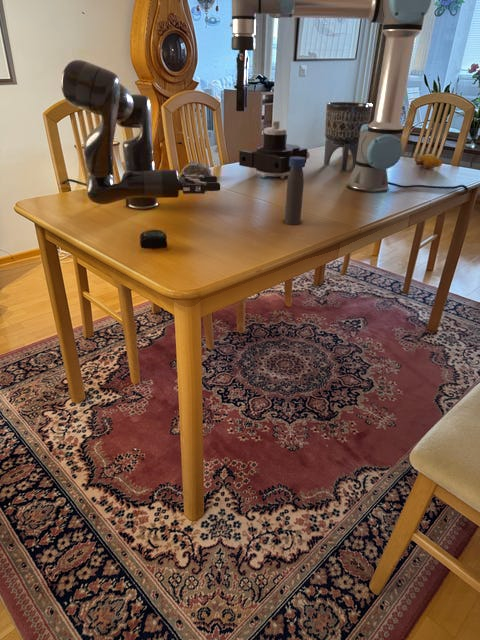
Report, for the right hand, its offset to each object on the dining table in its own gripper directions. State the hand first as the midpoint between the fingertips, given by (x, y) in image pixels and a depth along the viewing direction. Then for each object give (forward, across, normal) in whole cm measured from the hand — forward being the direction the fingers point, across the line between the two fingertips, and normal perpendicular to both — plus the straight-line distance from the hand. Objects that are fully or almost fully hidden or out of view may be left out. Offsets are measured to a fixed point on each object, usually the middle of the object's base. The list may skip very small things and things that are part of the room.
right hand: (241, 109), depth 155 cm
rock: (+28, -16, -19) cm, 37 cm away
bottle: (+28, +34, +18) cm, 48 cm away
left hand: (+16, +39, -4) cm, 42 cm away
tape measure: (+28, +61, -18) cm, 69 cm away
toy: (+28, -57, +84) cm, 106 cm away
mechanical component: (+28, -33, +15) cm, 46 cm away
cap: (+9, +34, +18) cm, 40 cm away
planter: (+28, -51, +44) cm, 73 cm away
